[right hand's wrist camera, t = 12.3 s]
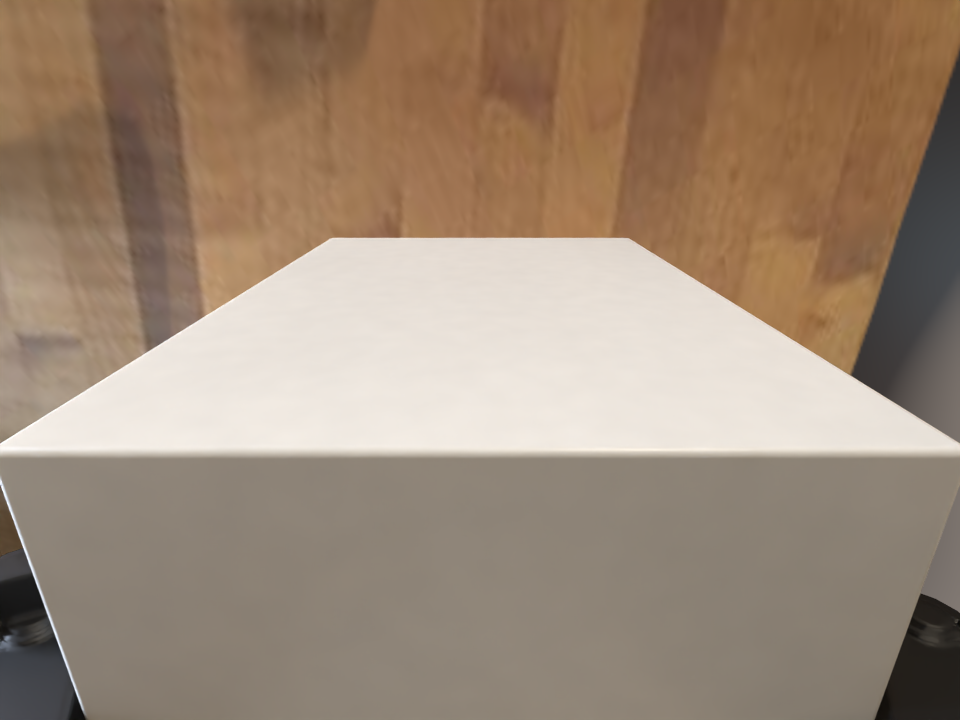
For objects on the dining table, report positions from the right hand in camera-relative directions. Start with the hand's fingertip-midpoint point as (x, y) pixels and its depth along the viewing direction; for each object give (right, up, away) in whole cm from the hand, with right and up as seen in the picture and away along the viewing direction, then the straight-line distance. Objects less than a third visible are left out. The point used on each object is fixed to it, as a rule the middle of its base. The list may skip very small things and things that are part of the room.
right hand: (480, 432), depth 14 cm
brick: (0, +1, +3) cm, 4 cm away
